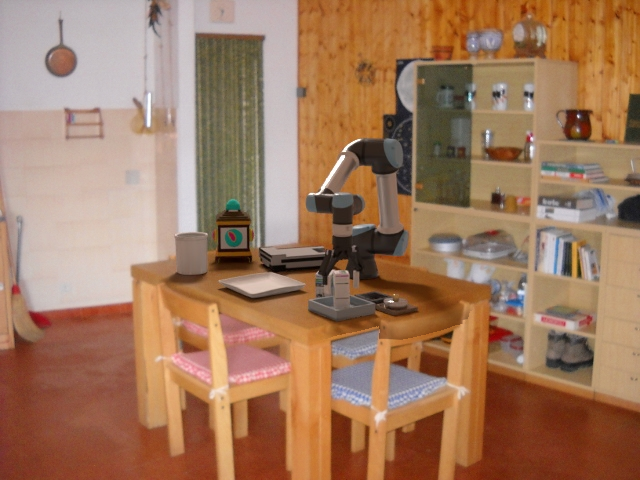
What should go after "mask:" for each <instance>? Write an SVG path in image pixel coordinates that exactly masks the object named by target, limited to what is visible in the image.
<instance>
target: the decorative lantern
mask: <svg viewBox="0 0 640 480" xmlns="http://www.w3.org/2000/svg"><path fill="white" fill-rule="evenodd" d="M215 224H216V226H217V228H216V229H214V230H213V232H212V239H213V242H215V243H217V246H216V249H215V262H216V264H219V263H220V259H231V258H248V263H250V264H251V263H252V262H253V255H252V250H251V247H250V242H253V241H254V239H255V237H254V236H255V234H254V230H253V228H250V226H251V224H252V218H251V215H250V214H249V213H248V212H246V211H244V210H243V209H241V204H240V202H239V201H238V200H237V199H235V198H232V199H230V200H228V201H227V203H226V205H225V209H224V210H223V211H220V212H218V213H217V214H216V215H215Z"/></svg>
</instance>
